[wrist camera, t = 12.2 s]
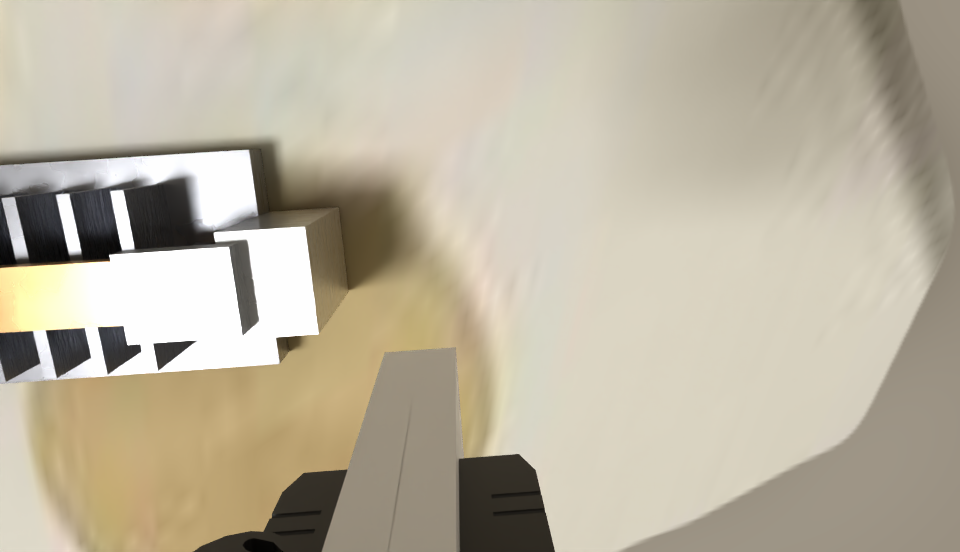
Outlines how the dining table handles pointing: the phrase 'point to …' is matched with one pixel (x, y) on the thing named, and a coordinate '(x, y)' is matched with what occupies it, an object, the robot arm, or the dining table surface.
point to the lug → (237, 281)
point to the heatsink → (124, 226)
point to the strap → (58, 296)
